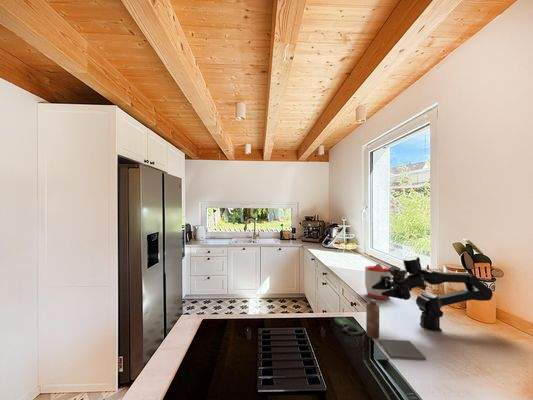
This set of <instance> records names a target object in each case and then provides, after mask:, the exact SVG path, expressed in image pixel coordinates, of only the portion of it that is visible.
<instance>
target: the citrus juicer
mask: <svg viewBox="0 0 533 400" xmlns="http://www.w3.org/2000/svg"><path fill="white" fill-rule="evenodd" d="M389 268H390V267H389ZM389 268H388V267H383V266H382V265H381V264H380V263H376V265H367V266H365V267H364V275H365V276H364V284H365V289H366V293H367V295H368V296H369V297H370V298H371V299H372V298H373V299H379V300H387V299H389V298H390V297H388V296H382V294H381V293H382V292H384V291H387V290H389V289H387V290H378V289H372V286H373V285H375V284H376V283H378V282H379V281H380V277H381V275H383V274H385V275H387V276H389V277H390V279H391V281H393V280H392V277H393V276H392V274H391V273H390V272H389V271H388V269H389Z"/></svg>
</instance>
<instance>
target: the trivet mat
mask: <svg viewBox="0 0 533 400" xmlns="http://www.w3.org/2000/svg"><path fill="white" fill-rule="evenodd" d="M377 339H378V343H379V345H380V346H381V347H382V346H383V347H382V348H383V350H384V349H385V350H384V351H385V352H386V354H387V353H388V354H387V355H388V356H389V358H390V359H400V360H403V359H404V360H416V361H418V360H420V361H427V357H426V356H425V355H424V354H423V353H422V352H421V351H420V349H419V348H417V346H415V345H414V343H412V342H411V341H410V340H405V339H404V340H403V339H388V338H387V339H384V338H382V339H381V338H377Z"/></svg>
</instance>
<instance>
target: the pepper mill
mask: <svg viewBox="0 0 533 400" xmlns="http://www.w3.org/2000/svg"><path fill="white" fill-rule="evenodd" d="M365 306H366V310H365V311H366V313H365V314H366V316H365V317H366V319H365V320H366V322H365V324H366V327H365V334H366V336H367V337H368V338H369V339H373V340H375V339H380V303H378V302H377V300H375V299H374V298H373V299H372V298H371V299H369V301H367V302H366V305H365Z"/></svg>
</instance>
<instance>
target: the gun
mask: <svg viewBox="0 0 533 400" xmlns="http://www.w3.org/2000/svg"><path fill="white" fill-rule="evenodd" d="M333 322H334V324H335V325H337V326H338V327H340V328H341V330H340V332H341V333H343V334H344V333H345V334H347V335H348V336H351V337H358V336H364V335H365V334H366V329H363V328H362V327H360V326H359V325H357V324H356V323H354V322H353V321H351V320H349V319H348V318H347V317H345V316H340V317H339V316H338V317H334V319H333ZM351 331H353V332H351Z"/></svg>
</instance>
